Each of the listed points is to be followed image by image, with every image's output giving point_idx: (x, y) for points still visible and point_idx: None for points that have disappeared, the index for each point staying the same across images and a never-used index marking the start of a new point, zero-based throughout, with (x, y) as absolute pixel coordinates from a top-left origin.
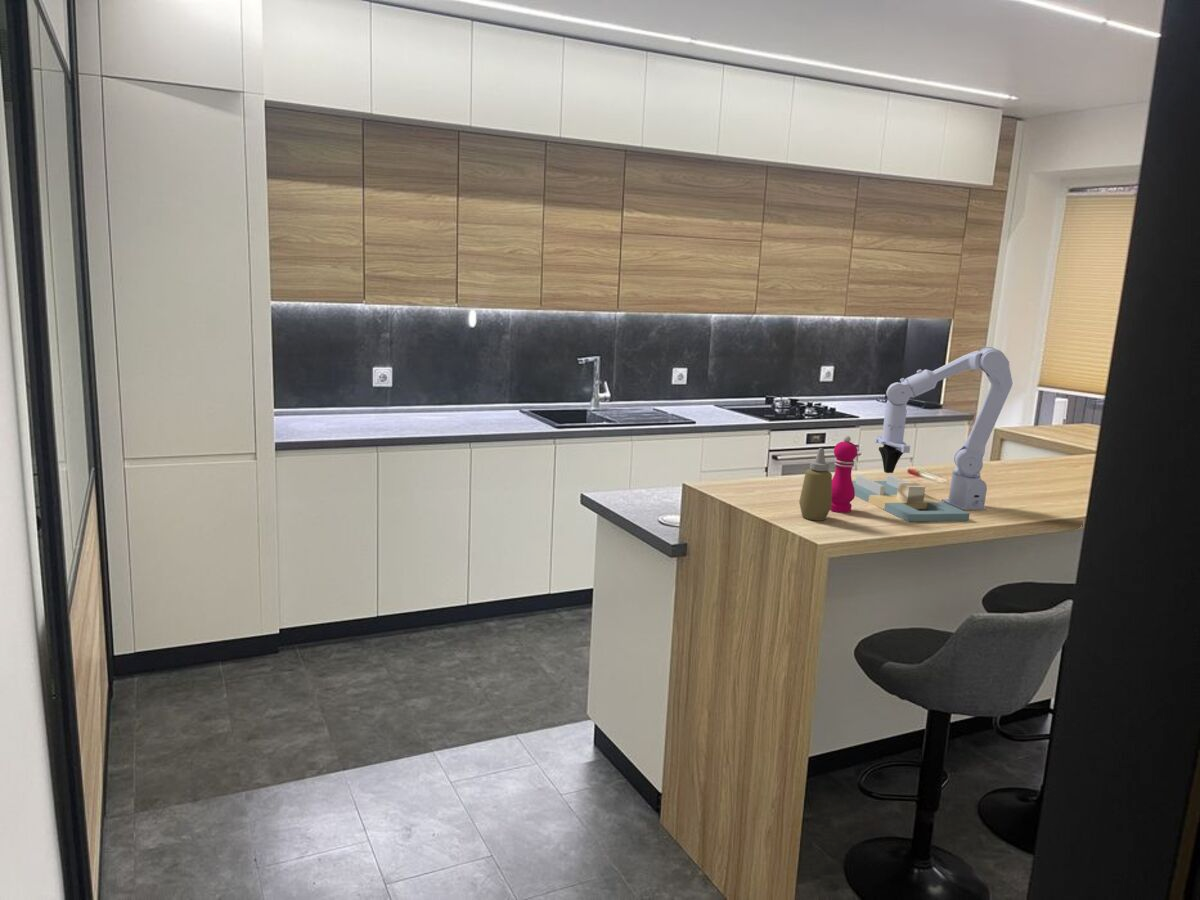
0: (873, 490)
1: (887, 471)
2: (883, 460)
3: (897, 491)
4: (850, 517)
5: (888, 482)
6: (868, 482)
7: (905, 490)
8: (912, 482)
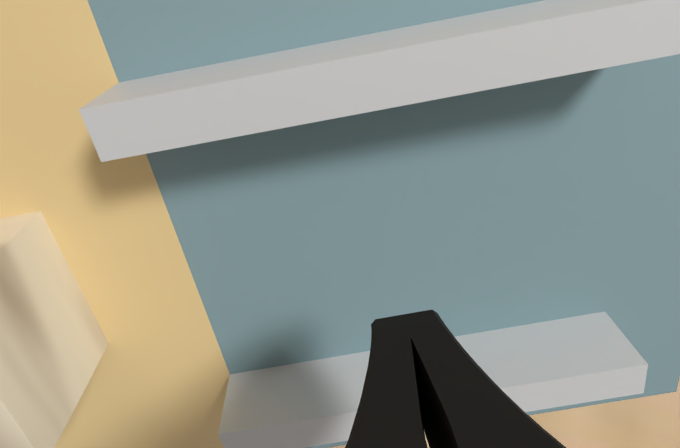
0: (243, 60)
1: (371, 339)
2: (484, 416)
3: (3, 246)
4: None
5: (583, 326)
6: (371, 47)
7: None
8: (21, 444)
